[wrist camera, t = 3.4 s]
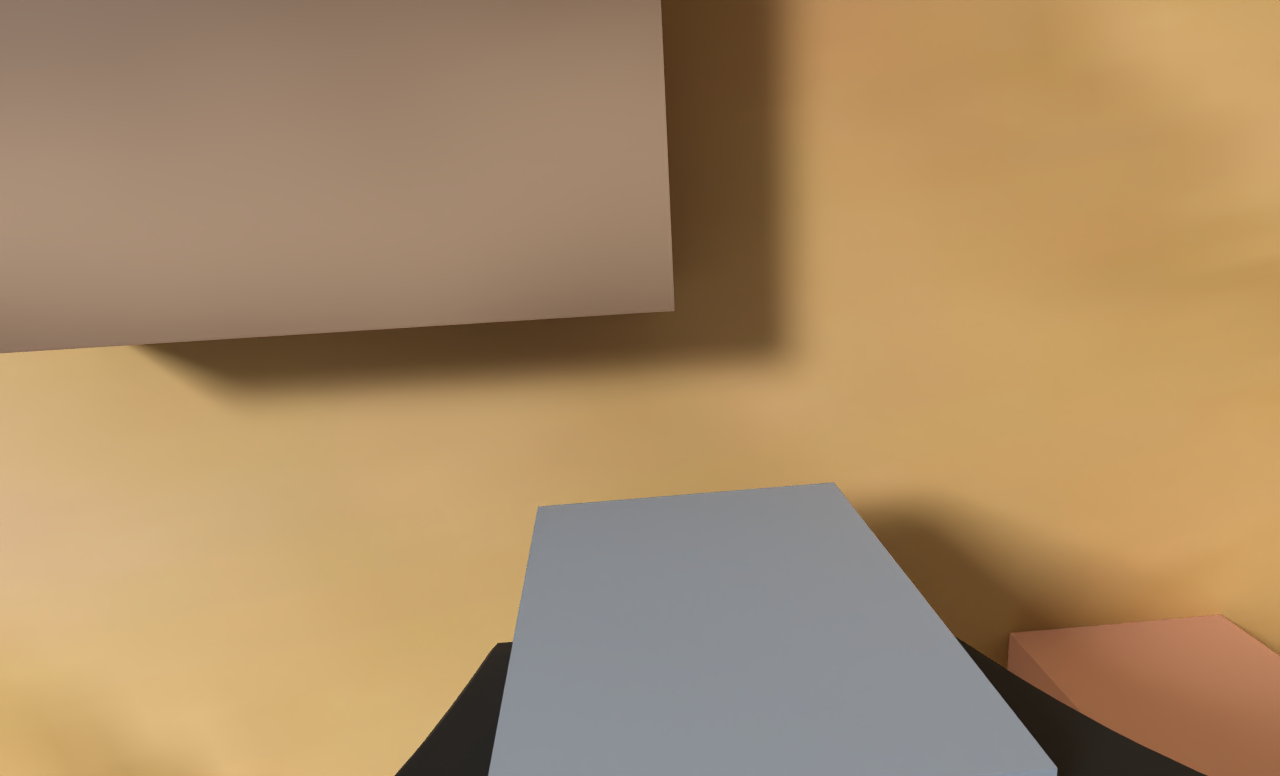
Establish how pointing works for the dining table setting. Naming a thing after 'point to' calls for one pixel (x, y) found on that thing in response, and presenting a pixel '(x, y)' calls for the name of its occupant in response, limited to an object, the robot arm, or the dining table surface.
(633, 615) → the slate block
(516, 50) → the walnut base
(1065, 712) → the robot arm
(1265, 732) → the terracotta block
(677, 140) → the dining table surface
